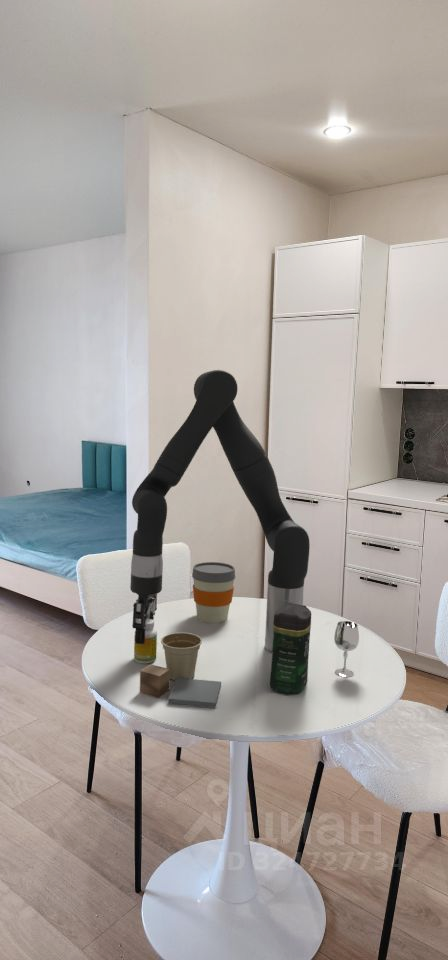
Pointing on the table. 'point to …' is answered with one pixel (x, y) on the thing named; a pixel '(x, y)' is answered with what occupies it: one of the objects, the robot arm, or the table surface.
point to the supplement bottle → (147, 645)
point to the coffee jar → (290, 649)
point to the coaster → (195, 693)
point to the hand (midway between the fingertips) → (144, 636)
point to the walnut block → (154, 680)
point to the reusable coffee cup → (213, 590)
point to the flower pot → (181, 654)
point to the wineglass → (346, 642)
